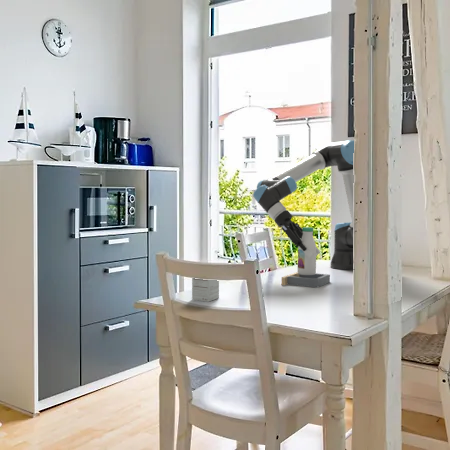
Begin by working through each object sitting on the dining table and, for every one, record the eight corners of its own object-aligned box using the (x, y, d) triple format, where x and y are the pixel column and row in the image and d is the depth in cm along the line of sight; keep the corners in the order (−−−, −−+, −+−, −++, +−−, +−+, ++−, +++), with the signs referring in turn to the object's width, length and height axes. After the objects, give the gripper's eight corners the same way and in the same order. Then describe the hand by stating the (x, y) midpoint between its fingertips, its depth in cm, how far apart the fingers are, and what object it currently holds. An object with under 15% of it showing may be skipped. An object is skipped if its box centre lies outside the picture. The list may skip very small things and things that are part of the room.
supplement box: (202, 296, 207) (202, 262, 206) (219, 298, 203) (219, 264, 202) (191, 299, 200) (191, 264, 200) (208, 302, 197) (208, 266, 196)
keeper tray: (299, 278, 250) (299, 270, 250) (331, 281, 243) (331, 273, 242) (281, 284, 233) (281, 277, 232) (315, 288, 225) (315, 280, 225)
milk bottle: (315, 273, 241) (316, 227, 239) (316, 275, 233) (317, 228, 232) (297, 272, 242) (298, 226, 240) (297, 275, 234) (298, 227, 233)
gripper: (283, 220, 252) (317, 258, 245) (264, 222, 234) (299, 263, 228) (295, 208, 249) (328, 247, 242) (276, 210, 231) (312, 251, 225)
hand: (314, 254), depth 235 cm, fingers closed on milk bottle, 7 cm apart
